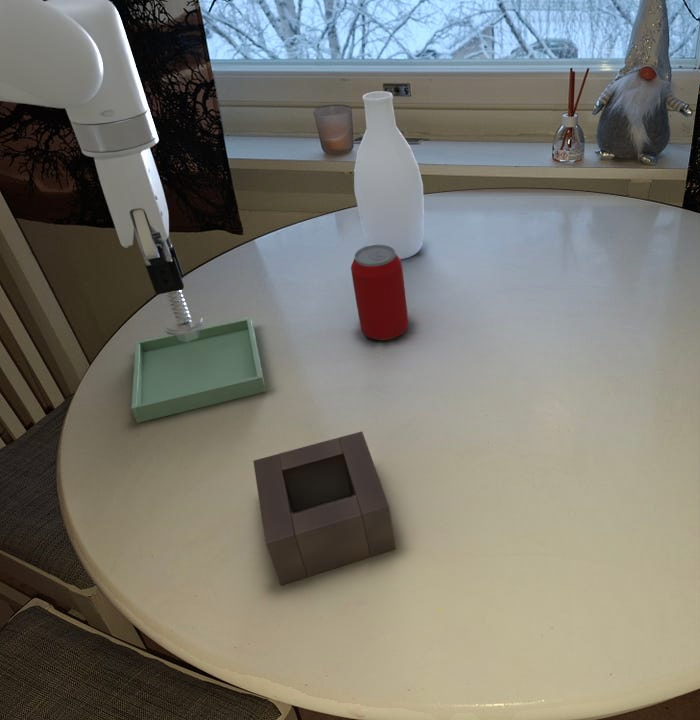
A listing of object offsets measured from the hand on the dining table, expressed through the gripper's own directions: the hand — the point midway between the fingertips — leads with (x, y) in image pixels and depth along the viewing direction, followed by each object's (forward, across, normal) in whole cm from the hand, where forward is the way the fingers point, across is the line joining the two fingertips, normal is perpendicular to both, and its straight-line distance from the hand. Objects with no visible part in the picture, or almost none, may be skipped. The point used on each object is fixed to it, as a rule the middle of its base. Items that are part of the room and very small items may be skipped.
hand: (170, 284), depth 81 cm
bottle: (+14, -24, +33) cm, 43 cm away
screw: (+8, 0, 0) cm, 8 cm away
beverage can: (+14, 0, +25) cm, 28 cm away
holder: (+13, +32, +11) cm, 36 cm away
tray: (+13, 0, 0) cm, 13 cm away
